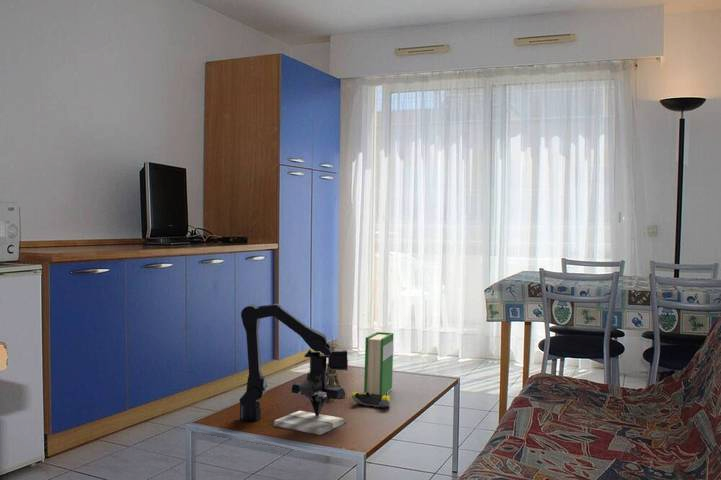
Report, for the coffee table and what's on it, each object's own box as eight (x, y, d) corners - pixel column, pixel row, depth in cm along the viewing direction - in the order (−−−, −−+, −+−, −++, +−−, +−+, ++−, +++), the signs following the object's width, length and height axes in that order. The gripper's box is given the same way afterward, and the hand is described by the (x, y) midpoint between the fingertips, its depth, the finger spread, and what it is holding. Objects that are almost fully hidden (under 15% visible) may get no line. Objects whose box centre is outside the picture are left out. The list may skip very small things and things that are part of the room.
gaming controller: (386, 412, 243) (395, 406, 252) (386, 397, 243) (396, 391, 252) (349, 406, 249) (360, 401, 258) (349, 392, 249) (360, 387, 258)
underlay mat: (272, 427, 218) (272, 425, 218) (300, 416, 233) (300, 414, 233) (320, 437, 209) (320, 435, 209) (347, 424, 224) (347, 423, 224)
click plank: (288, 420, 225) (288, 414, 225) (299, 415, 231) (299, 410, 231) (333, 428, 217) (333, 423, 217) (343, 423, 223) (343, 418, 223)
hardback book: (381, 398, 262) (383, 338, 262) (363, 397, 264) (365, 337, 264) (391, 389, 279) (393, 333, 279) (375, 388, 281) (376, 332, 281)
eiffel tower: (349, 397, 263) (350, 335, 263) (334, 402, 254) (336, 338, 254) (327, 393, 269) (328, 332, 269) (312, 398, 260) (314, 335, 260)
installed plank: (274, 425, 218) (274, 420, 218) (287, 420, 225) (287, 415, 225) (320, 434, 210) (320, 429, 210) (332, 429, 216) (332, 423, 216)
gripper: (282, 370, 223) (281, 416, 223) (328, 377, 214) (328, 425, 214) (300, 365, 233) (299, 409, 233) (346, 371, 224) (345, 417, 224)
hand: (317, 415), depth 226 cm, fingers closed
